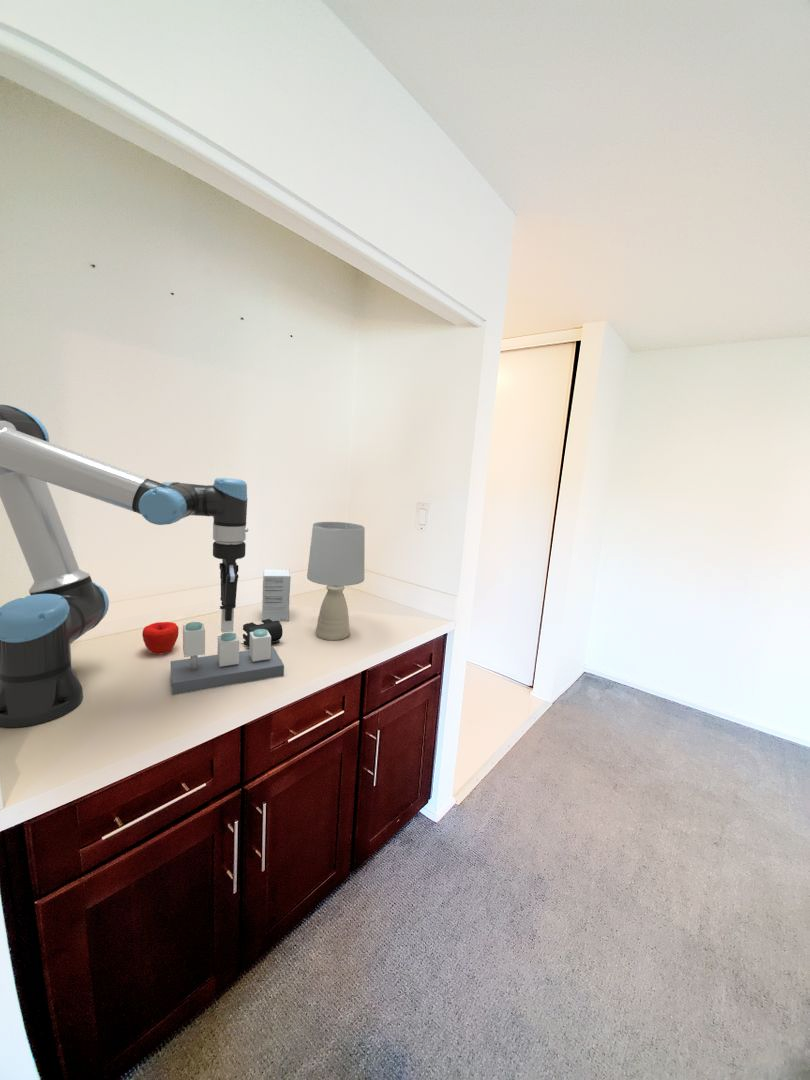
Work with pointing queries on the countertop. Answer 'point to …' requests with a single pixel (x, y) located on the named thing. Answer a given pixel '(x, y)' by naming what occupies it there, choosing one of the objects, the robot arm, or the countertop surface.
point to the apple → (160, 637)
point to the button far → (260, 645)
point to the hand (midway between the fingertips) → (227, 631)
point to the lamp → (335, 572)
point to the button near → (193, 639)
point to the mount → (221, 672)
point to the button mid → (228, 649)
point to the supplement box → (276, 594)
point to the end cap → (271, 626)
